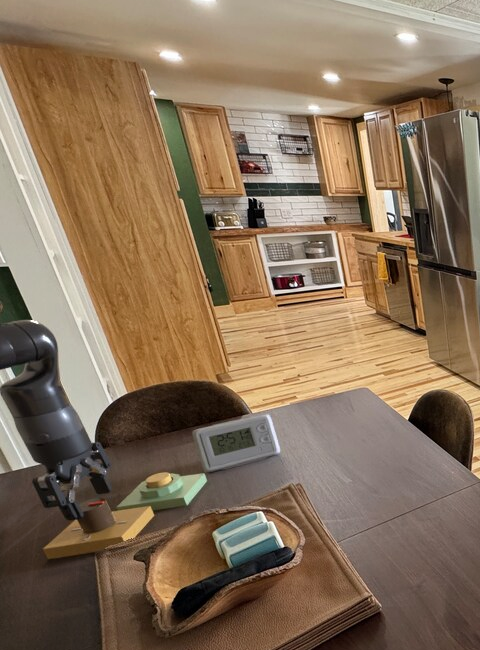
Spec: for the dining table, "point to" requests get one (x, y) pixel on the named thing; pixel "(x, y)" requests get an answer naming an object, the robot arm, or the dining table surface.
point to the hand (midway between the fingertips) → (91, 505)
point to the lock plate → (99, 534)
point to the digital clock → (236, 442)
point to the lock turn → (95, 515)
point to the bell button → (158, 480)
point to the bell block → (165, 493)
